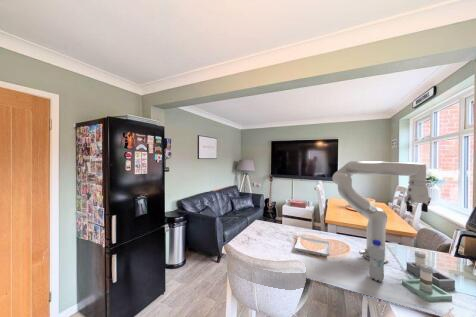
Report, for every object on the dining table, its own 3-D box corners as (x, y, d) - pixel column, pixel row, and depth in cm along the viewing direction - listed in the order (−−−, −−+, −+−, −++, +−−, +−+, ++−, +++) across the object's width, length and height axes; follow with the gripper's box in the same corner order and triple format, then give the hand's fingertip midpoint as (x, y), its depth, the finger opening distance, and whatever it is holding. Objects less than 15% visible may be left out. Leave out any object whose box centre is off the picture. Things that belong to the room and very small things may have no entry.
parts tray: (426, 301, 84) (426, 296, 84) (401, 283, 96) (401, 279, 96) (452, 299, 85) (452, 295, 85) (424, 282, 97) (424, 278, 97)
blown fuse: (426, 293, 88) (426, 269, 88) (416, 287, 92) (417, 264, 92) (435, 293, 88) (435, 269, 88) (425, 286, 93) (425, 264, 93)
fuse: (420, 275, 103) (420, 255, 103) (412, 271, 107) (412, 251, 107) (428, 275, 103) (428, 255, 103) (419, 270, 107) (420, 251, 107)
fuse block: (454, 288, 92) (455, 280, 92) (439, 289, 92) (439, 281, 92) (419, 269, 109) (420, 261, 109) (406, 269, 108) (406, 262, 108)
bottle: (365, 275, 103) (365, 237, 103) (377, 274, 103) (377, 237, 103) (375, 283, 96) (375, 243, 96) (388, 282, 96) (388, 242, 96)
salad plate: (298, 240, 146) (298, 235, 146) (329, 246, 137) (329, 241, 137) (293, 252, 127) (294, 247, 127) (329, 260, 118) (329, 254, 118)
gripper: (409, 184, 113) (409, 213, 113) (437, 184, 114) (436, 213, 114) (398, 182, 120) (398, 210, 120) (424, 182, 121) (423, 209, 121)
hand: (416, 211), depth 117 cm, fingers open, 9 cm apart
